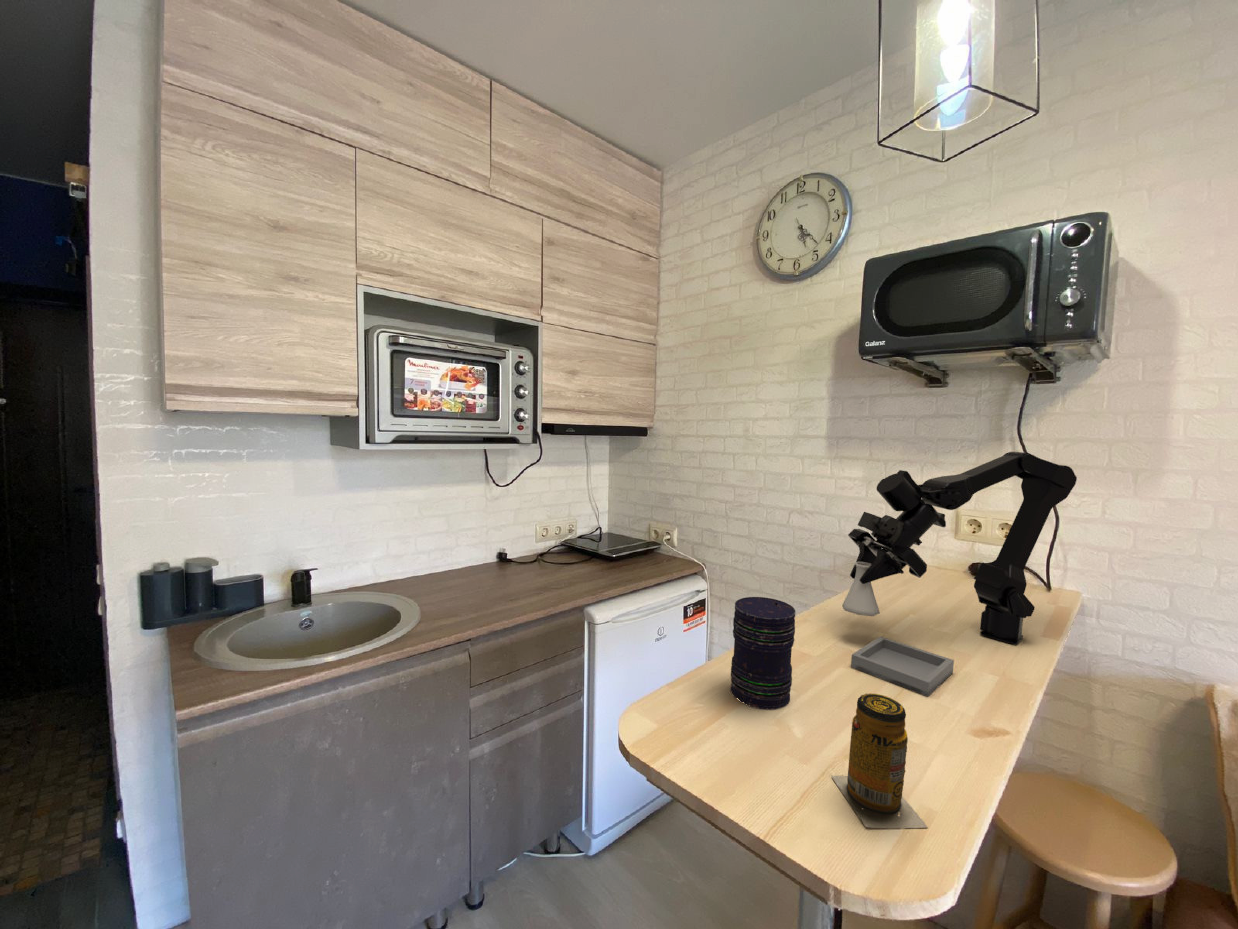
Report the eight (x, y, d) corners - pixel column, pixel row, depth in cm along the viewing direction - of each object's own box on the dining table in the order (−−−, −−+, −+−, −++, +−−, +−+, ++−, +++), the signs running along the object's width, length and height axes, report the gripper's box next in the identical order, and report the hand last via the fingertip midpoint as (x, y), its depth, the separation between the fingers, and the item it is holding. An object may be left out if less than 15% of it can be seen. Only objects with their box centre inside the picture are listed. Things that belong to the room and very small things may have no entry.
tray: (952, 673, 95) (953, 660, 95) (927, 697, 86) (929, 682, 86) (879, 648, 105) (880, 636, 104) (850, 667, 96) (851, 654, 96)
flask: (877, 620, 102) (880, 571, 101) (838, 612, 106) (841, 564, 105) (882, 609, 108) (885, 562, 107) (845, 601, 112) (847, 557, 111)
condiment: (885, 776, 67) (892, 688, 66) (928, 829, 58) (937, 729, 57) (830, 777, 66) (837, 688, 65) (865, 830, 58) (873, 729, 57)
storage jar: (762, 717, 79) (767, 623, 78) (717, 688, 87) (721, 603, 86) (803, 699, 85) (809, 611, 83) (757, 673, 93) (762, 593, 92)
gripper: (859, 492, 115) (809, 541, 114) (917, 507, 96) (858, 566, 96) (889, 527, 116) (840, 575, 116) (952, 548, 98) (894, 606, 98)
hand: (856, 579), depth 106 cm, fingers closed on flask, 3 cm apart
